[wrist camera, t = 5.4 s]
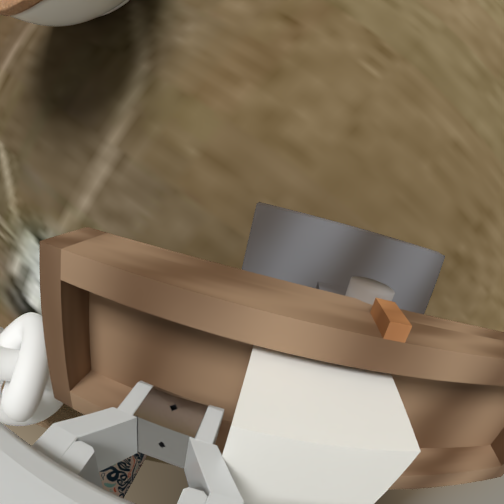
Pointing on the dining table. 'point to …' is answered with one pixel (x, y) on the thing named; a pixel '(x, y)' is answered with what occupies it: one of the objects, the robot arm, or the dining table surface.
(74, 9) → the lidded bowl
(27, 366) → the white knot sculpture
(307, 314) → the brown wooden tray
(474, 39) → the dining table surface
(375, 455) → the white block
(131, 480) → the beer can
